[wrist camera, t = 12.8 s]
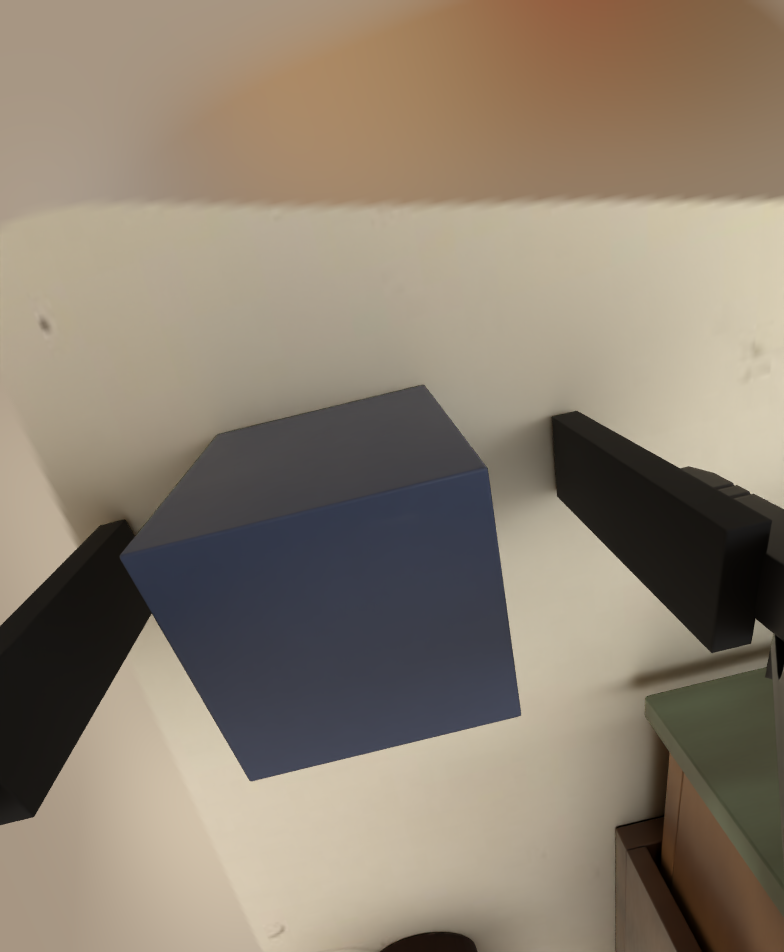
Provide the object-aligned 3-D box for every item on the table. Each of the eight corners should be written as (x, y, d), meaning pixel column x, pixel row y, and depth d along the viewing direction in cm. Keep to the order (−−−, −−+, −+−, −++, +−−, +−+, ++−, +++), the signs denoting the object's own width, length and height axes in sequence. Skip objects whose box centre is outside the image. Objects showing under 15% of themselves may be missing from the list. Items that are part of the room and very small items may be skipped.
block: (216, 434, 12) (117, 556, 7) (424, 384, 12) (488, 467, 7) (283, 598, 15) (249, 782, 9) (456, 556, 15) (522, 716, 9)
